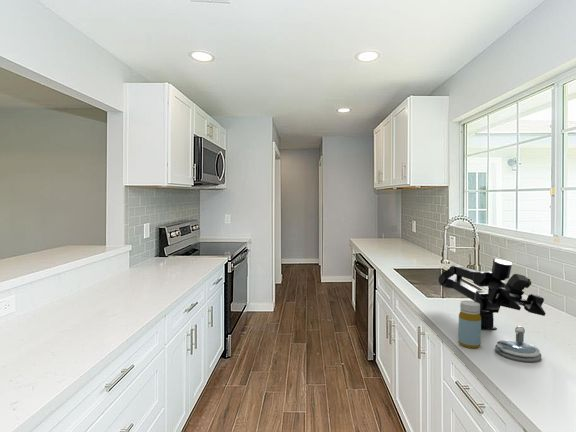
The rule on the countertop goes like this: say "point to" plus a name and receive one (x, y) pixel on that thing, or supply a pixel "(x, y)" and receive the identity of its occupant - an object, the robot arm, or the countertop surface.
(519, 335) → the turntable base
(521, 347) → the platter
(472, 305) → the bottle
